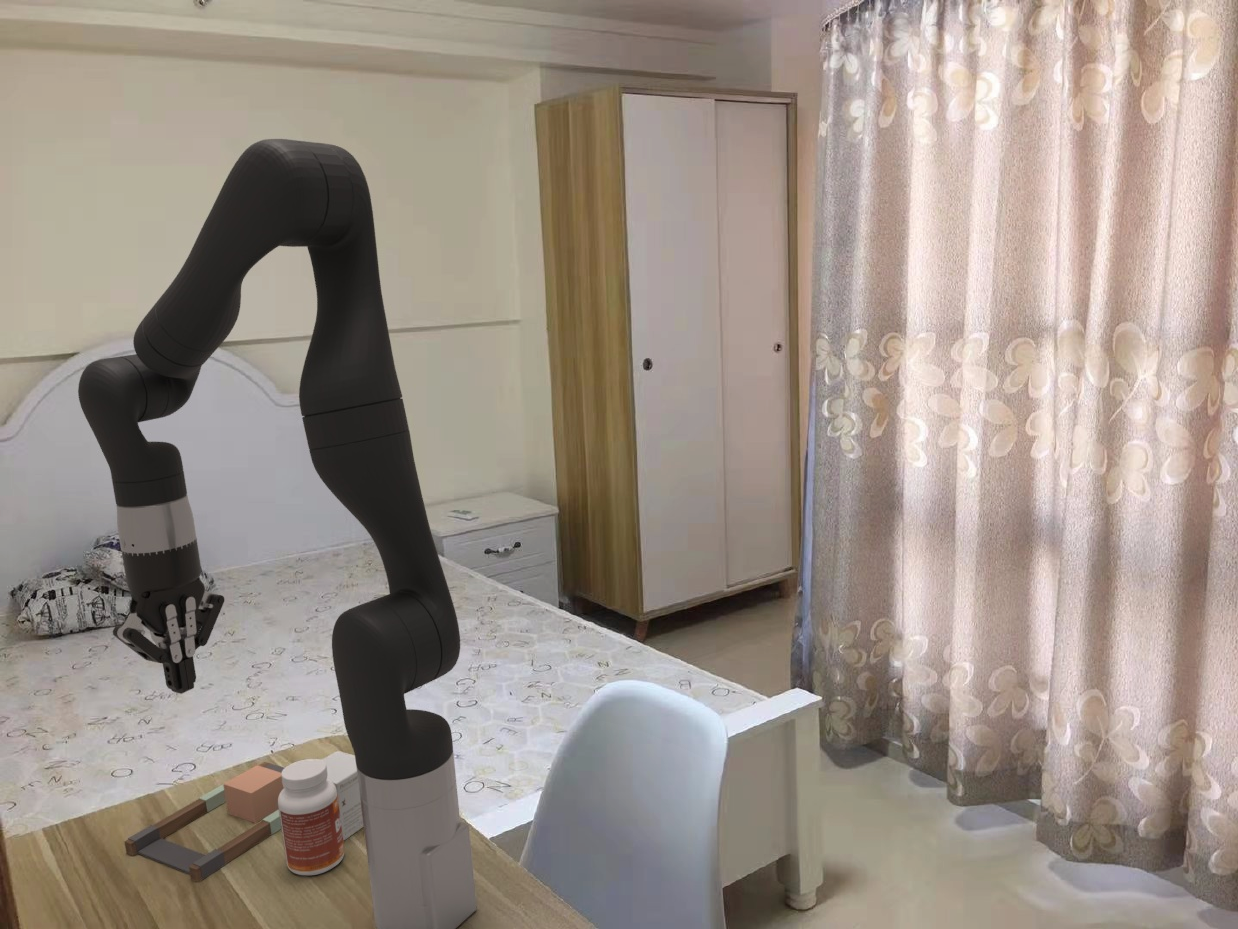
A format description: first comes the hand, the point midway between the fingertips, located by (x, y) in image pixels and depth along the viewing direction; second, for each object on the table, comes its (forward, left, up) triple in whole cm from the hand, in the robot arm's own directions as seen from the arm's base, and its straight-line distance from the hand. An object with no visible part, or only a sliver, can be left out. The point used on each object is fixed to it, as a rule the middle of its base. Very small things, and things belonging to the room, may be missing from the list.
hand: (183, 690), depth 117 cm
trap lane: (0, -4, -19) cm, 19 cm away
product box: (-12, -10, -19) cm, 24 cm away
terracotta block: (0, -8, -19) cm, 20 cm away
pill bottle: (-15, -3, -19) cm, 24 cm away
